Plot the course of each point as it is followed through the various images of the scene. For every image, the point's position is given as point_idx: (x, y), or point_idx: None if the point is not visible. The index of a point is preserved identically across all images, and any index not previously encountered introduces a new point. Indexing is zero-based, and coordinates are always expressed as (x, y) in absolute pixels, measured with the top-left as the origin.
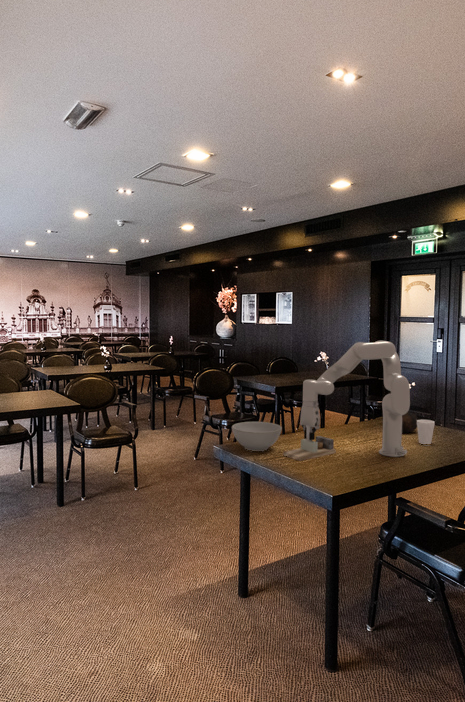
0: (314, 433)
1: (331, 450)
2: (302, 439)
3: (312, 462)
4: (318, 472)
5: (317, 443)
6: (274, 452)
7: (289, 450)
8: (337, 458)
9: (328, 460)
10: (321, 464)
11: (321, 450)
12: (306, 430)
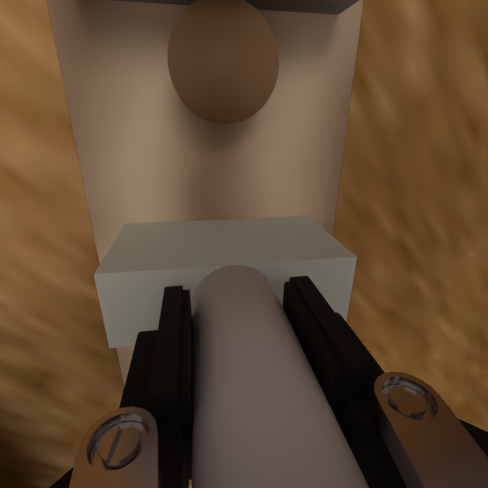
0: (381, 371)
1: (360, 7)
2: (114, 329)
3: (372, 339)
4: (481, 405)
5: (349, 253)
6: (27, 413)
7: (125, 381)
8: (457, 112)
9: (427, 222)
10: (434, 320)
11: (296, 133)
12: (184, 475)
